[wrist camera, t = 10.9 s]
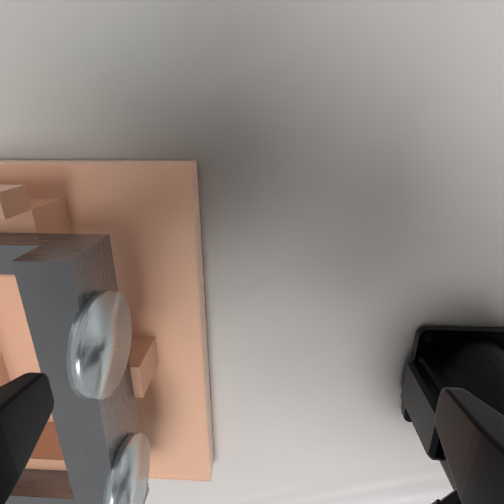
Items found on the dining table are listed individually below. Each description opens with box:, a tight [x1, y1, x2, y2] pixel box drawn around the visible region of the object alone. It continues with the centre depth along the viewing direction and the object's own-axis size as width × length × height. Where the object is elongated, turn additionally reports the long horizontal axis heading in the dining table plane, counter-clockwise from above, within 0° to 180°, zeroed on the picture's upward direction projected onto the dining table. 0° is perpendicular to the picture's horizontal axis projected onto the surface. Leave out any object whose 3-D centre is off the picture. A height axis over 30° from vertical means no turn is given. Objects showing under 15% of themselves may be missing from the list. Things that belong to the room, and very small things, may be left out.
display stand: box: [0, 160, 214, 481], centre depth 18 cm, size 16×20×6 cm
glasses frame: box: [0, 233, 150, 504], centre depth 15 cm, size 10×15×4 cm
